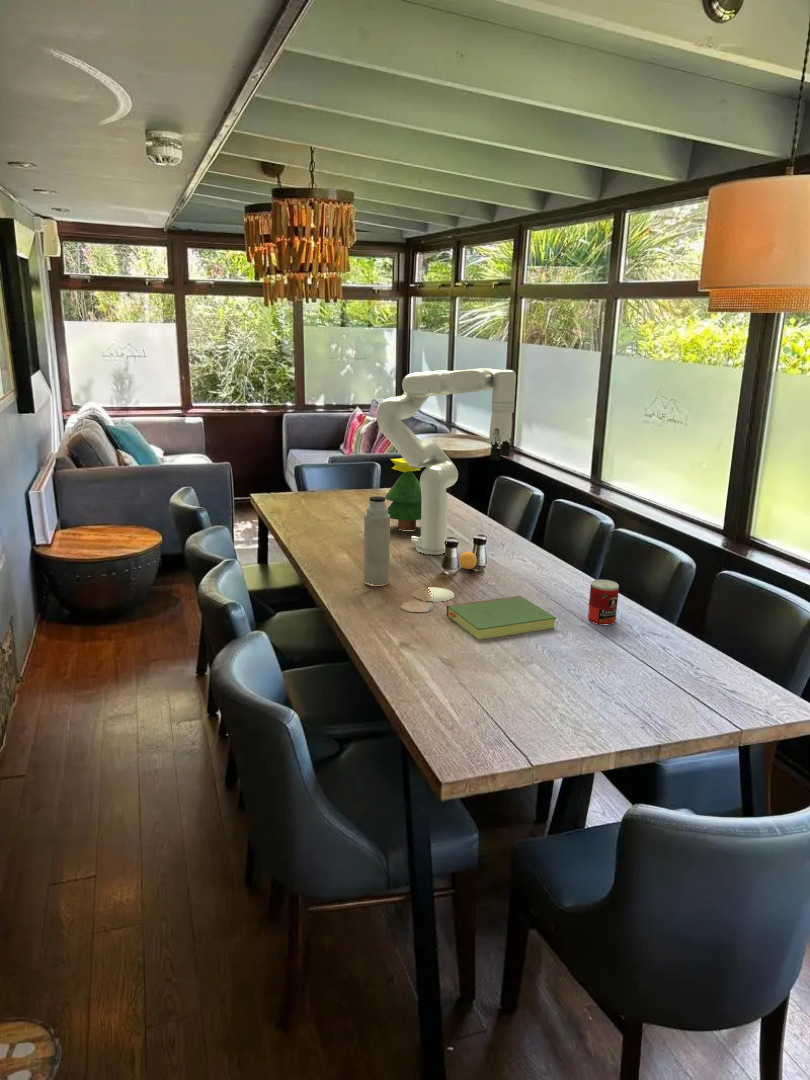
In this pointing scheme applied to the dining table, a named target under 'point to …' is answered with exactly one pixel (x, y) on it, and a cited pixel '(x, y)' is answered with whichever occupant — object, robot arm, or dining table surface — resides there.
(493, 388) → the robot arm
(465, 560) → the ball
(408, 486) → the decorative tree
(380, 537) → the thermos bottle
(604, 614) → the canned food
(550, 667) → the dining table surface
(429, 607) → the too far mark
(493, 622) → the hardcover book
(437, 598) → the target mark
